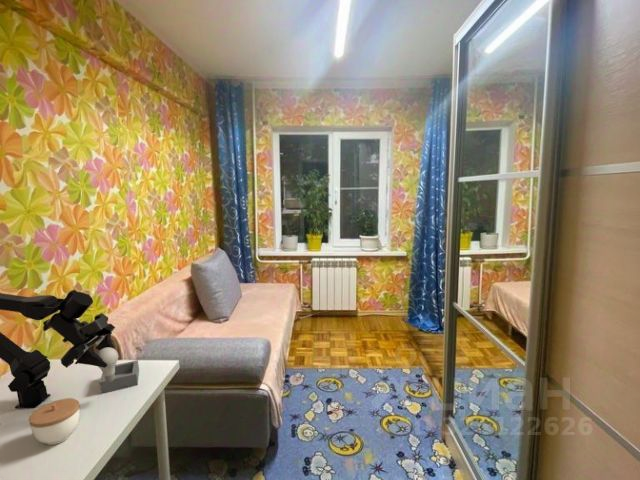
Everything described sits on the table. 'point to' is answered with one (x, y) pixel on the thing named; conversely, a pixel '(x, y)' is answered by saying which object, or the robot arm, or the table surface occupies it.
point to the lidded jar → (55, 421)
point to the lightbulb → (108, 362)
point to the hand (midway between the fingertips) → (112, 361)
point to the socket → (121, 377)
